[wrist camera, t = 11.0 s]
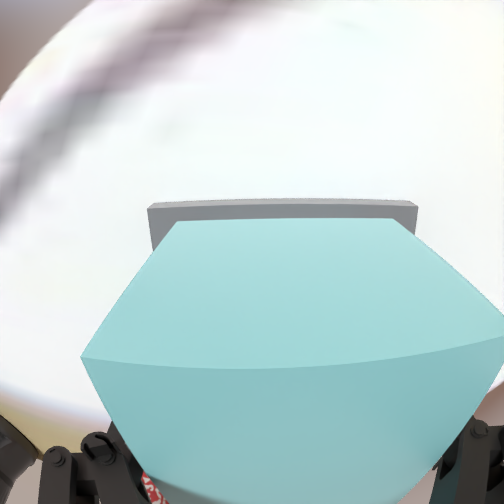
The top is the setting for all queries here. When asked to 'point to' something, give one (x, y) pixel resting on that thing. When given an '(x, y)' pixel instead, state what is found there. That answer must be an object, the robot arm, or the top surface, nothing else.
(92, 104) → the top surface
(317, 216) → the housing
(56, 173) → the top surface
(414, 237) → the cover
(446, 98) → the top surface
